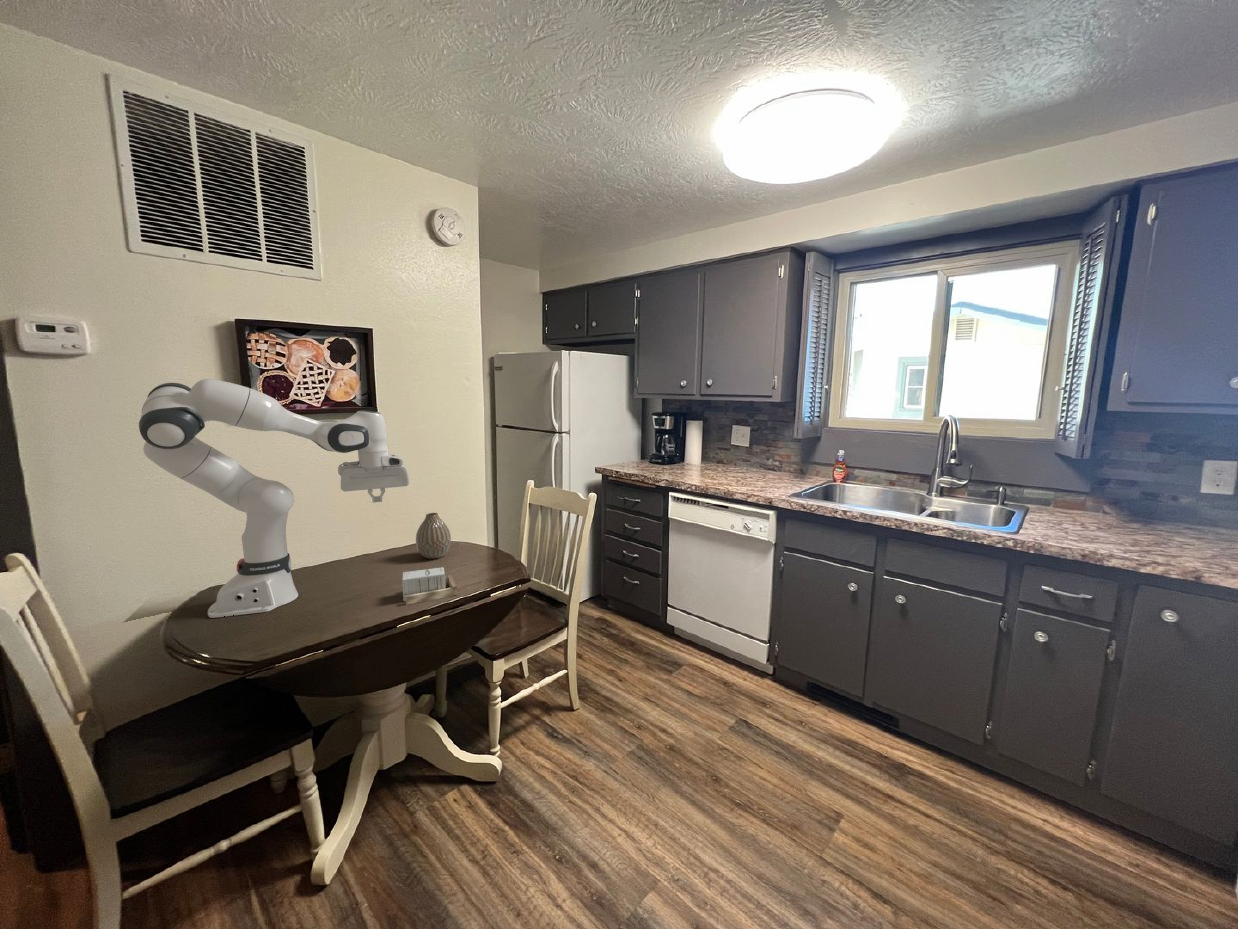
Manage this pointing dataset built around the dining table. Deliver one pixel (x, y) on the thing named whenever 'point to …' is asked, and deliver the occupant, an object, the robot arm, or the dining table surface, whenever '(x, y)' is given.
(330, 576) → the dining table surface
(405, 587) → the supplement box
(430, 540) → the vase
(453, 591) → the u rest
